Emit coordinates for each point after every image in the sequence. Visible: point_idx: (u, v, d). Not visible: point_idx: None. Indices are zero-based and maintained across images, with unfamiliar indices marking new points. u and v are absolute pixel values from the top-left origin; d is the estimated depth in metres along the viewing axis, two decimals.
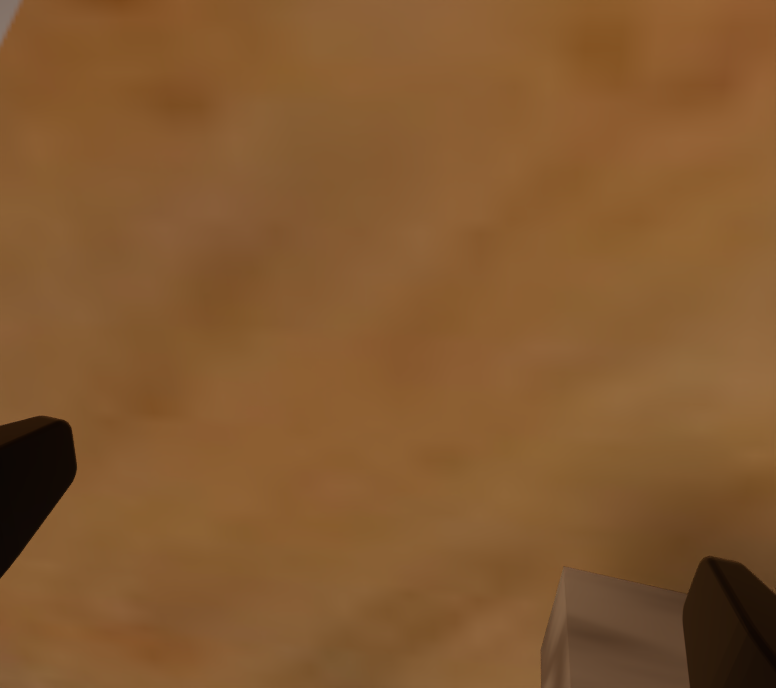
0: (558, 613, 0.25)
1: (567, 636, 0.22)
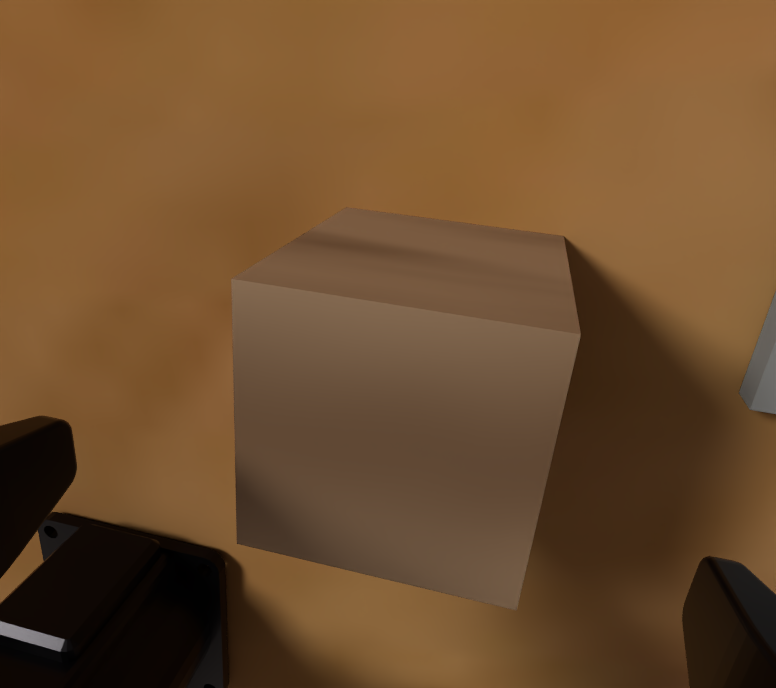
0: None
1: None
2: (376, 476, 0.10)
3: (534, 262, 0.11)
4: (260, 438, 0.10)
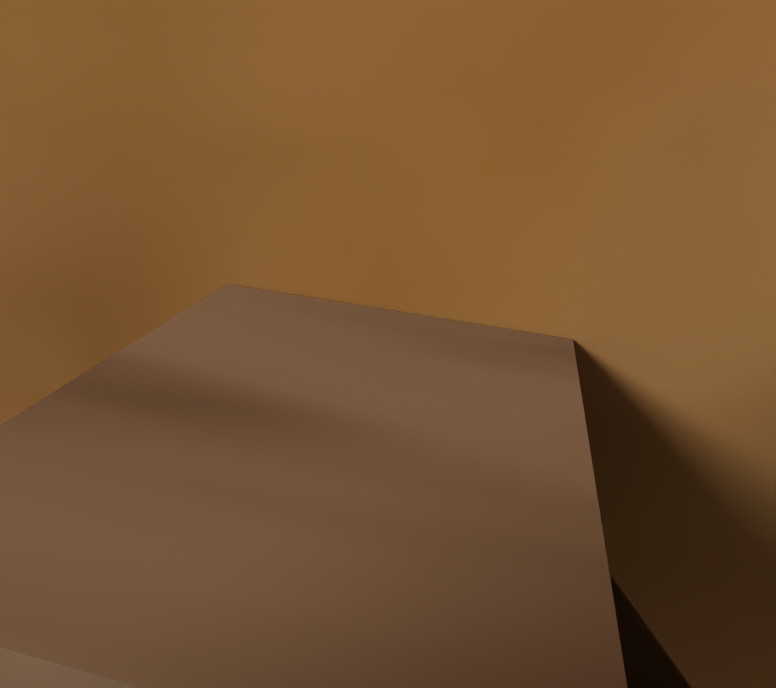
0: None
1: (54, 400, 0.06)
2: None
3: (523, 430, 0.06)
4: None
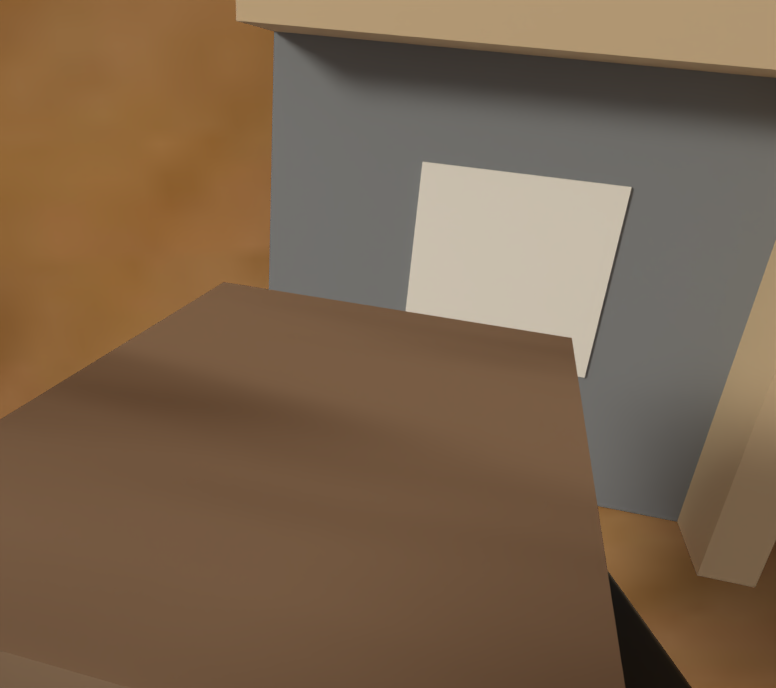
0: None
1: (48, 398, 0.06)
2: None
3: (521, 428, 0.06)
4: None
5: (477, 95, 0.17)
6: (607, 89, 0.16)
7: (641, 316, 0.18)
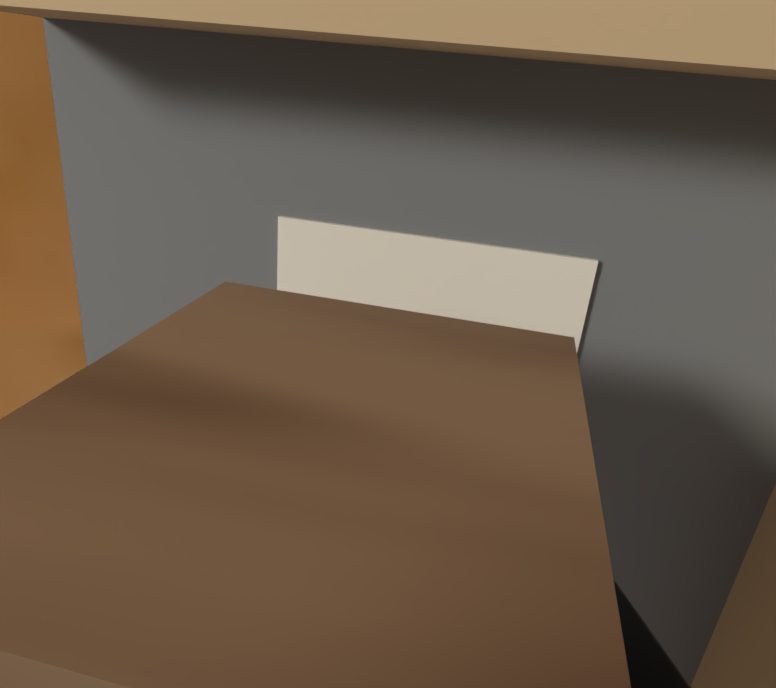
0: None
1: None
2: None
3: (524, 429, 0.06)
4: None
5: (352, 115, 0.10)
6: (555, 105, 0.10)
7: (618, 449, 0.12)
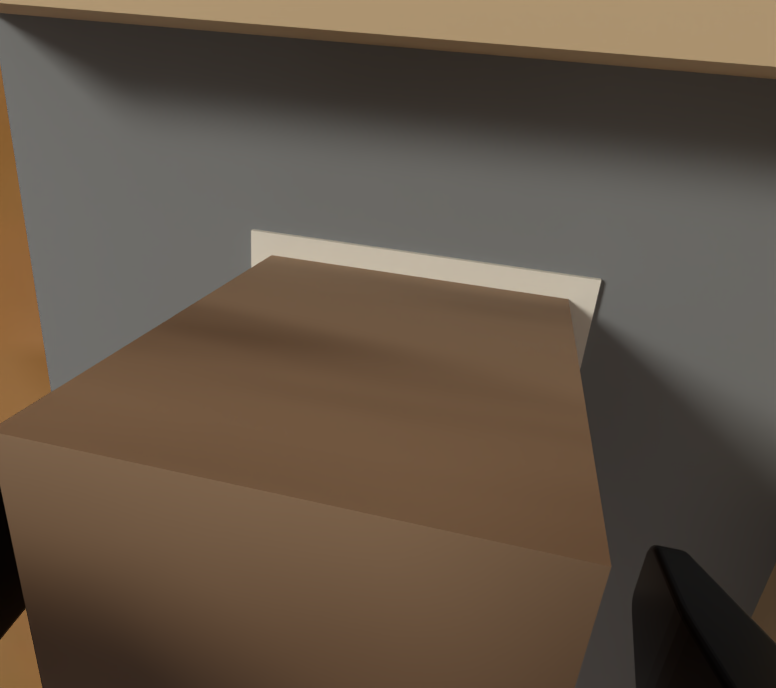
0: None
1: None
2: None
3: (526, 359, 0.07)
4: (77, 668, 0.06)
5: (330, 119, 0.09)
6: (554, 109, 0.09)
7: (622, 483, 0.11)
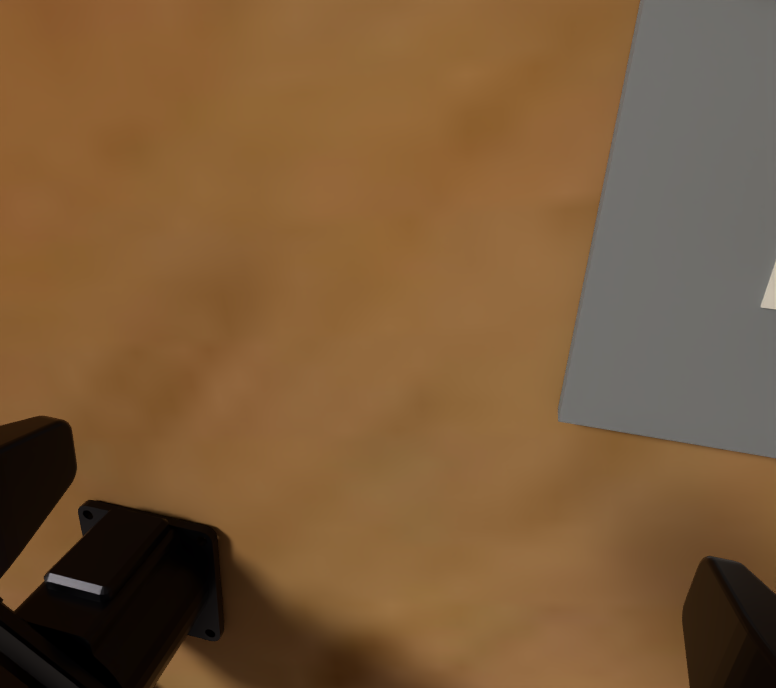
0: None
1: None
2: None
3: None
4: None
5: None
6: None
7: None
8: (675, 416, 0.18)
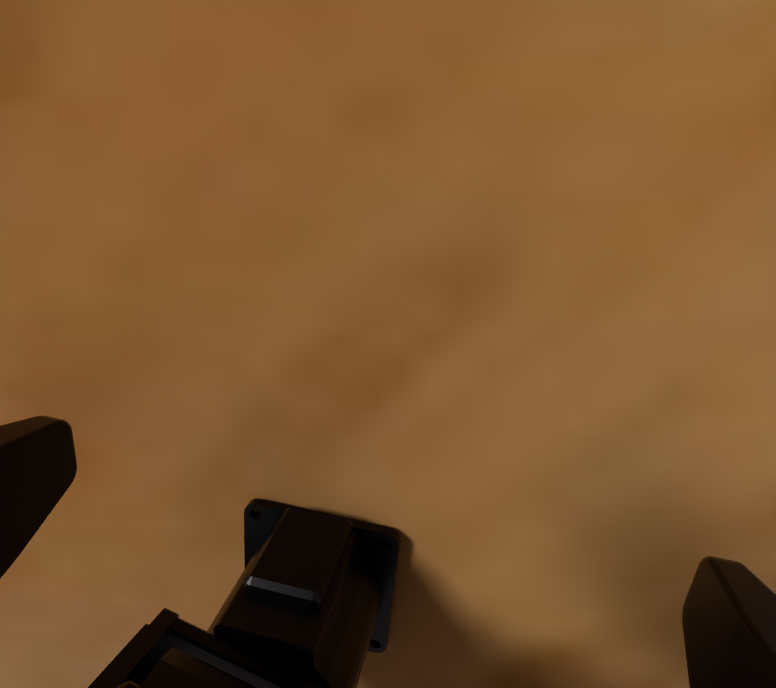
0: None
1: None
2: None
3: None
4: None
5: None
6: None
7: None
8: None
